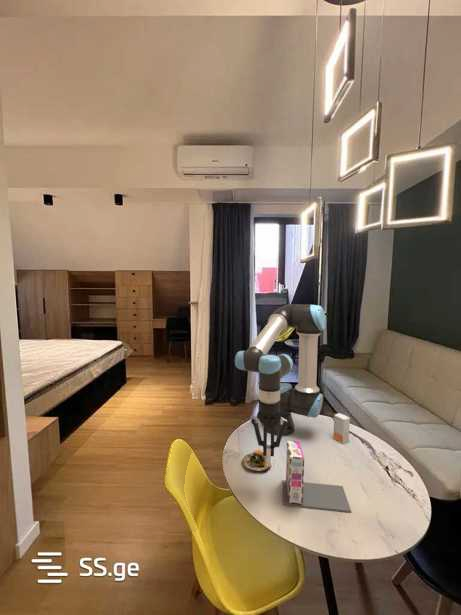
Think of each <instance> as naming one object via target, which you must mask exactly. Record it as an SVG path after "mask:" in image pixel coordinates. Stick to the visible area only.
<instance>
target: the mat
mask: <svg viewBox="0 0 461 615" xmlns="http://www.w3.org/2000/svg"><path fill="white" fill-rule="evenodd" d="M281 487H282V488H281V489H282V492H281V493H282V506H284V507H285V506H286V507H295V508H296V507H297V508H305V509H312V510H314V509H315V510H322V511H332V512H343V513H352V510H351V506H350V503H349V500H348V498H347V495H346V492H345V489H344V486H343V485H335V484H327V483H326V484H325V483H315V482H306V481H305V482H304V481H303V504H292V503H289V501H288V493H287V486H286V479H285V480H284V479H283V480H281Z"/></svg>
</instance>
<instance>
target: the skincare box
mask: <svg viewBox="0 0 461 615" xmlns="http://www.w3.org/2000/svg"><path fill="white" fill-rule="evenodd" d="M350 420H351V417H349V416H347V415H345V414H342V413H339V412H338V413H335V414H334V415H333V433H332V434H333V439H335V441H338V442H339V443H341V444H342V445H344V444H347V443H349V442H350V423H351V422H350Z"/></svg>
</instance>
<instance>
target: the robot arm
mask: <svg viewBox="0 0 461 615" xmlns="http://www.w3.org/2000/svg"><path fill="white" fill-rule="evenodd" d="M326 323H327V322H326V314H325V310H324V308H323V307H322V305H318V304H317V305H316V304H296V303H292V304H291V303H290V304H285V305H283V306H281V307H279V308H278V309H276V310H275V311H273V312H272V314H271V315H270V316H269V317H268V320H267V324H265V326H264V327H263V329H262V330H261V331H260V332H259V334H258V336H257V337H256V338H255V339H254V341H253V342H252V343H251V344H250V345H249V347H248V348H247V349H246V350H239V351H238V352H236V355H235V358H234V364H235V368H237V369H238V370H241V371H245V372H252V373H256V374H257V373H258V407H257V408H258V412H257V414H256V415H255V416H251V418H250V422H251V424H252V426H253V428H254V432H255V436H256V437H255V438H256V441H257V444H258V446H259V447H263V448H262V452H263V455H264V456H266V466H270V468H272V463H271V462H272V461H271V460H272V457H275V456H274V455H275V449H276V448H280V446H281V442H282V437H285V436H290V435H292V434H293V433H295V422H294V420H293V416H292V414H296V415H300V416H303V417H307V418H315V419H316V418H318V416H319V415H320V413H321V411H322V407H323V403H324V395H323V394H322V393H321V392H320V388H319V387H318V386H317V377H318V375H317V374H318V373H317V372H318V370H317V369H318V343H319V342H318V341H319V336H320V335H321V334H322V331H324V330H325V329H326ZM287 328H289V329H290V328H292V329H296V331H295V332H296V334H297V335H298V336H299V338H298V339H299V342H298V375H297V376H298V380H297V381H298V382H297V384H296V385H295V386H294V388H293V386H292V384H291V383H288V382H281V379H282V378H283V377H285V376H286V375H288V374H289V373H291V371H292V369H293V367H294V362H293V360H292V357H290V356H289V355H288V354H286V353H280V354H278V355H274V354H269V351H270V349H271V348H272V346H273V345H274V344H275V342H276V340H277V339H278V337H279V336H280V335H281V333H282V332H284V331H286V329H287ZM259 422H260V423H261V425H262V426H263V428H262V429H263V432H262V433H263V434H262V435H261V433H260V432H261V430H260V427H259V426H260V425H259ZM268 434H270V444H268ZM262 436H263V439H262ZM275 436H276V439H275Z"/></svg>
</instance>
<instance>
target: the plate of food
mask: <svg viewBox="0 0 461 615" xmlns="http://www.w3.org/2000/svg"><path fill="white" fill-rule="evenodd" d="M241 463H242V465H243V466H244V467H245V468H247V469H249V470H251V471H256V472H258V471H259V472H260V471H261V472H263V471H266V472H269V471H270V470H271V467H270V466H266V456H264V455H263V450H261V448H258V449H256V450H254V451H253V452H252V453H249V454H247V455H245V456H244V457H243V458H242V460H241Z"/></svg>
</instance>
